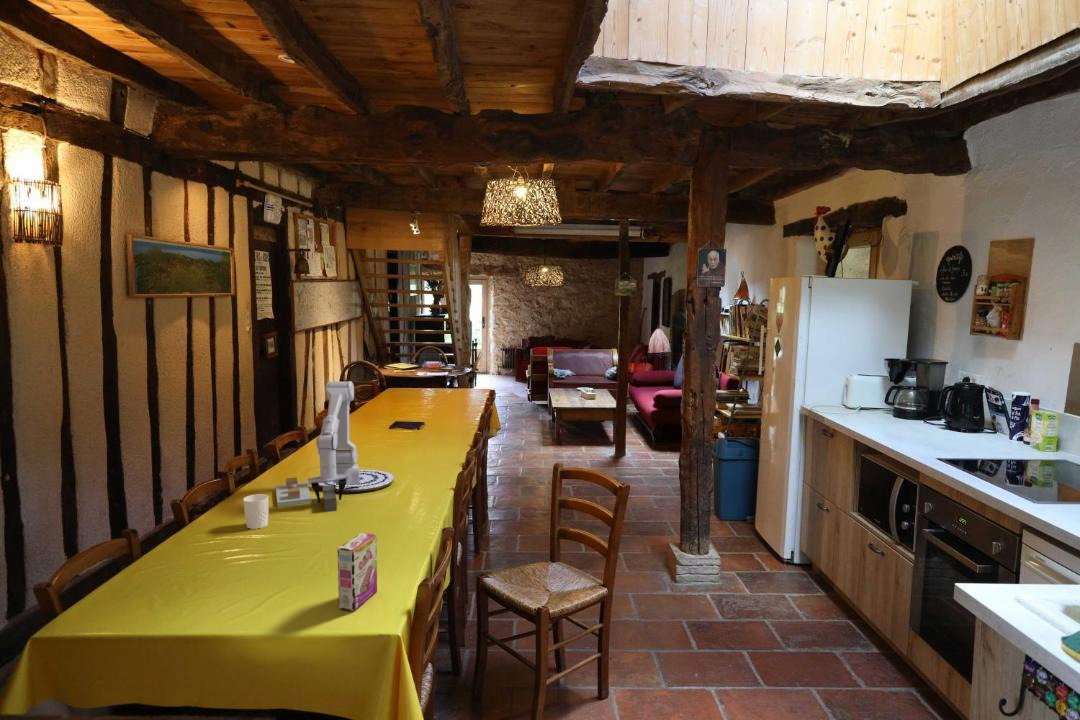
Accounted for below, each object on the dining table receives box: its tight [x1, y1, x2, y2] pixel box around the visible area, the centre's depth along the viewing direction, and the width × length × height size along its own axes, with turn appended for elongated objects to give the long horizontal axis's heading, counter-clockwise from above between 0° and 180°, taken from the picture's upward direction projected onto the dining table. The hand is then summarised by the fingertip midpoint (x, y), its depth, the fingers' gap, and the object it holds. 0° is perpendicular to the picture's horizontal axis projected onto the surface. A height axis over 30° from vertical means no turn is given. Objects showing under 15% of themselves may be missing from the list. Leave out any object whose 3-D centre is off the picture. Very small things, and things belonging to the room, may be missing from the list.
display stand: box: [275, 476, 313, 507], centre depth 246 cm, size 12×22×4 cm, turn 25°
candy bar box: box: [337, 532, 378, 612], centre depth 164 cm, size 11×5×16 cm, turn 163°
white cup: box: [242, 493, 270, 530], centre depth 215 cm, size 8×8×10 cm
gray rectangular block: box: [322, 484, 338, 513], centre depth 236 cm, size 4×16×5 cm, turn 22°
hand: (329, 500), depth 236 cm, fingers open, 7 cm apart
